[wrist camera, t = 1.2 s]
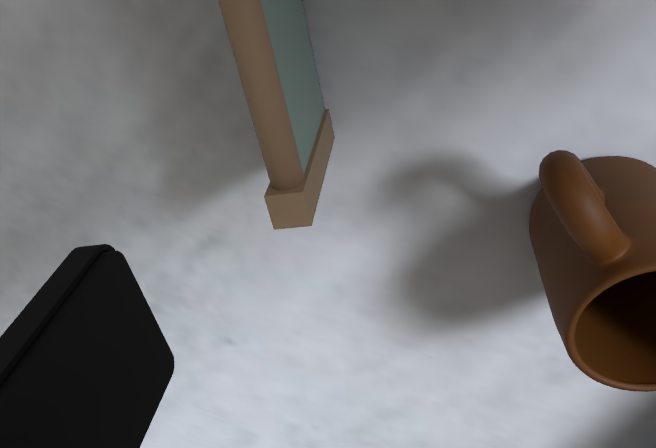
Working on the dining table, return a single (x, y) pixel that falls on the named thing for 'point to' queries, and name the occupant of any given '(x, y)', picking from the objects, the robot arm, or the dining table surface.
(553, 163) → the mug
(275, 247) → the dining table surface
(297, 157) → the gate
